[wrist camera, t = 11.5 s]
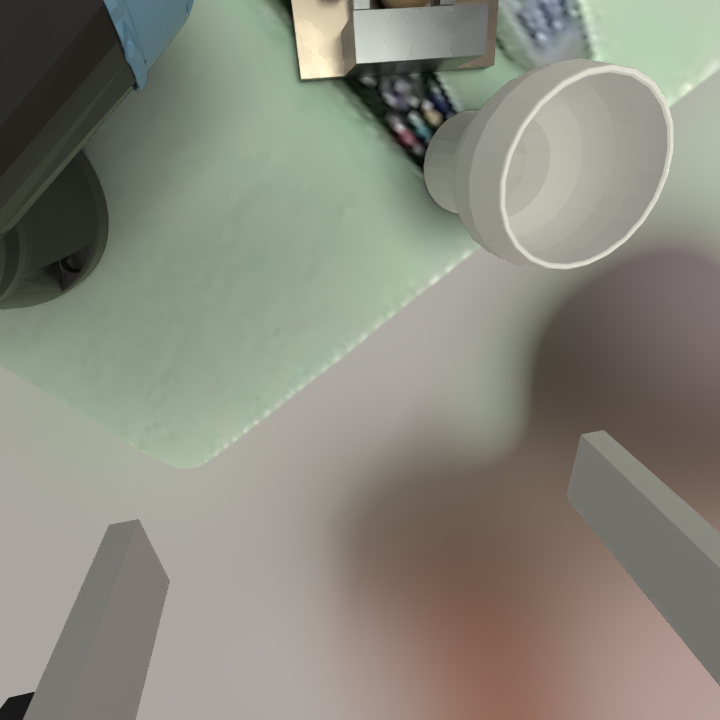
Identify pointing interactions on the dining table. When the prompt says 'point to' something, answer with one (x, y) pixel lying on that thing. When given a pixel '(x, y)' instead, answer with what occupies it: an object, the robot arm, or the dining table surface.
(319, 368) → the dining table surface
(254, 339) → the dining table surface
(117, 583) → the robot arm
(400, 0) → the nut
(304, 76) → the press base
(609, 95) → the cup
